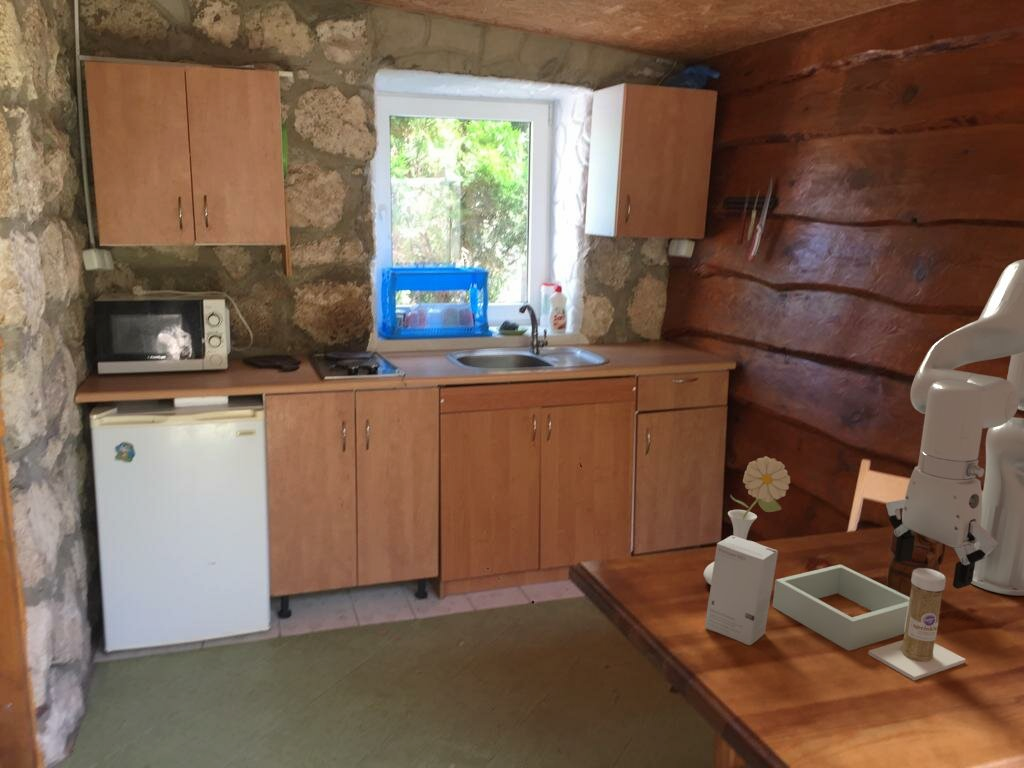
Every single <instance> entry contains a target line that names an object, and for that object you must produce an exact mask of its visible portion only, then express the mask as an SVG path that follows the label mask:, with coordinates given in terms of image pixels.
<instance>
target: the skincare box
mask: <svg viewBox="0 0 1024 768" xmlns="http://www.w3.org/2000/svg"><path fill="white" fill-rule="evenodd" d="M715 548H716V549H715V554H714V555H715V556H714V561H713V562H714V568H713V574H712V581H711V585H710V587H709V588H710V589H709V590H710V591H709V594H708V595H709V596H708V601H707V608H706V609H707V610H706V614H705V615H706V616H705V622H704V623H705V624H704V626H705V629H707V630H709V631H710V632H711V631H712V632H715V633H718V634H720V635H722V636H725V637H728V638H730V639H733V640H736V641H738V642H740V643H741V644H745V645H747V646H752V645H753V644H754V643H755V642H756V641H758V640H759V639H760V638H761V637H763V636H764V635H765V633H766V629H767V622H768V614H769V609H770V604H771V597H772V591H773V585H774V579H775V572H776V566H777V560H778V554H779V551H778V550H777V549H774V548H771V547H768V546H766V545H763V544H760V543H758V542H755V541H752V540H748V539H746V540H745V539H742V538H739V537H736V536H734V534H733V535H730V536H727V537H726V538H725V539H723V540H721V541H719V542H717V543H716V547H715Z"/></svg>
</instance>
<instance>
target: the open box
mask: <svg viewBox="0 0 1024 768" xmlns="http://www.w3.org/2000/svg"><path fill="white" fill-rule="evenodd" d="M773 591H774V592H773V598H772V606H771V607H772V608H774V609H776V610H778V611H779V612H781V613H782V614H784V615H786V616H788V617H789V618H790V619H793V620H794V621H796V622H798V623H800V624H802V625H803V626H805V627H807V628H808V629H810V630H811V631H813V632H815V633H817V634H819V635H820V636H822V637H824V638H826V639H827V640H828V641H831V642H832V643H834V644H836V645H838V646H839V647H841V648H842V649H845V650H847V651H848V652H850V651H852V650H856V649H859V648H862V647H865V646H869V645H872V644H876V643H878V642H882V641H885V640H888V639H893V638H896V637H898V636H901V635H904V633H905V632H904V629H905V622H906V615H907V609H908V602H909V599H910V597H908V596H906V595H904V594H902V593H899V592H897V591H895V590H893V589H891V588H889V587H887V585H885V584H882V583H880V582H878V581H876V580H874V579H872V578H870V577H868V576H866V575H864V574H861V573H859V572H857V571H855V570H853V569H851V568H849V567H847V566H845V565H843V564H840V563H839V564H837V565H831V566H828V567H827V566H826V567H824V568H819V569H814V570H810V571H807V572H802V573H798V574H794V575H789V576H785V577H781V578H778V579H775V581H774V590H773ZM836 594H838V595H841V596H842V597H844V598H845V599H848V600H850V601H852V602H854V603H856V604H858V605H859V606H862V607H864V608H865V609H867V610H869V611H870V612H865V613H862V614H860V615H856V616H850V615H848V614H847V613H844V612H843V611H840V610H839V609H837V608H836V607H834V606H831V605H829V604H828V603H827V602H824V601H822V600H821V598H822V599H823V598H824V597H829V596H832V595H836Z"/></svg>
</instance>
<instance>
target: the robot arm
mask: <svg viewBox="0 0 1024 768" xmlns="http://www.w3.org/2000/svg"><path fill="white" fill-rule="evenodd" d="M980 313H981V314H980V315H979V318H978V319H977V320H974V321H973V322H970V323H967V324H965V325H964V326H961V327H960V328H957V329H955V330H954V331H952V332H949V333H948V334H947V335H945V336H944V337H942V338H940V339H939V340H938V341H936V342H935V343H934V344H933V345H932V346H931V347H930V348H929V350H928V351H927V353H926V355H925V356H924V358H923V361H922V362H921V363H920V366H919V368H918V370H917V371H916V374H915V375H914V378H913V381H912V384H911V388H910V401H911V402H910V403H911V404H912V406H913V408H914V409H915V410H916V411H918V412H919V413H921V414H924V422H923V428H922V435H921V443H920V451H919V457H918V458H919V459H918V462H917V463H918V464H917V465H916V466H914V469H913V470H912V473H911V476H910V479H909V481H908V485H907V488H906V492H905V495H904V496H905V497H904V499H899V500H898V499H897V500H892V501H889V502H886V505H885V506H886V509H887V513H888V516H889V518H888V519H889V523H890V524H891V525H892V527H893V530H894V529H895V530H894V534H895V535H896V536H897V543H896V557H895V561H897V562H902V561H906V560H909V559H911V558H912V555H913V548H914V540H915V537H914V535H913V534H911V533H912V532H913V531H914V532H916V533H918V534H921V535H923V536H926V537H928V538H930V539H933V540H935V541H938V542H940V543H943V544H945V545H946V546H948V547H951V548H953V549H954V551H955V553H956V554H957V555H956V556H958V557H957V558H958V559H959V561H957V562H956V564H955V568H954V574H953V581H952V586H953V588H955V589H957V590H959V589H962V588H965V587H968V586H970V584H972V585H974V586H975V587H978V588H981V589H983V590H986V591H989V592H993V593H997V594H1001V595H1007V596H1014V597H1015V596H1018V597H1020V596H1021V597H1022V596H1024V418H1023V417H1015V415H1016V413H1017V411H1018V410H1019V411H1022V412H1023V411H1024V259H1020V260H1016V261H1014V262H1012V263H1010V264H1008V265H1007V266H1006V267H1005V269H1004V270H1003V271H1002V272H1001V275H1000V276H999V278H998V280H997V282H996V284H995V287H994V288H993V290H992V292H991V294H990V295H989V298H988V300H987V302H986V304H985V306H984V308H983V310H982V312H980ZM1004 357H1010V361H1009V365H1008V373H1007V377H1006V379H1005V378H1002V377H998V376H993V375H986V374H979V373H974V372H969V371H963V370H962V371H961V370H956V369H957V368H959V367H961V366H965V365H968V364H971V363H976V362H981V361H982V362H983V361H989V360H994V359H1000V358H1004ZM983 429H987V432H986V437H985V469H984V468H982V467H980V466H979V454H980V446H981V440H982V433H983ZM984 474H985V475H984ZM983 476H984V482H983V483H984V484H983V490H982V484H981V483H982V482H981V480H980V479H978V478H981V477H983ZM976 477H978V478H976ZM901 509H902V512H901ZM901 515H902V516H901Z"/></svg>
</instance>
